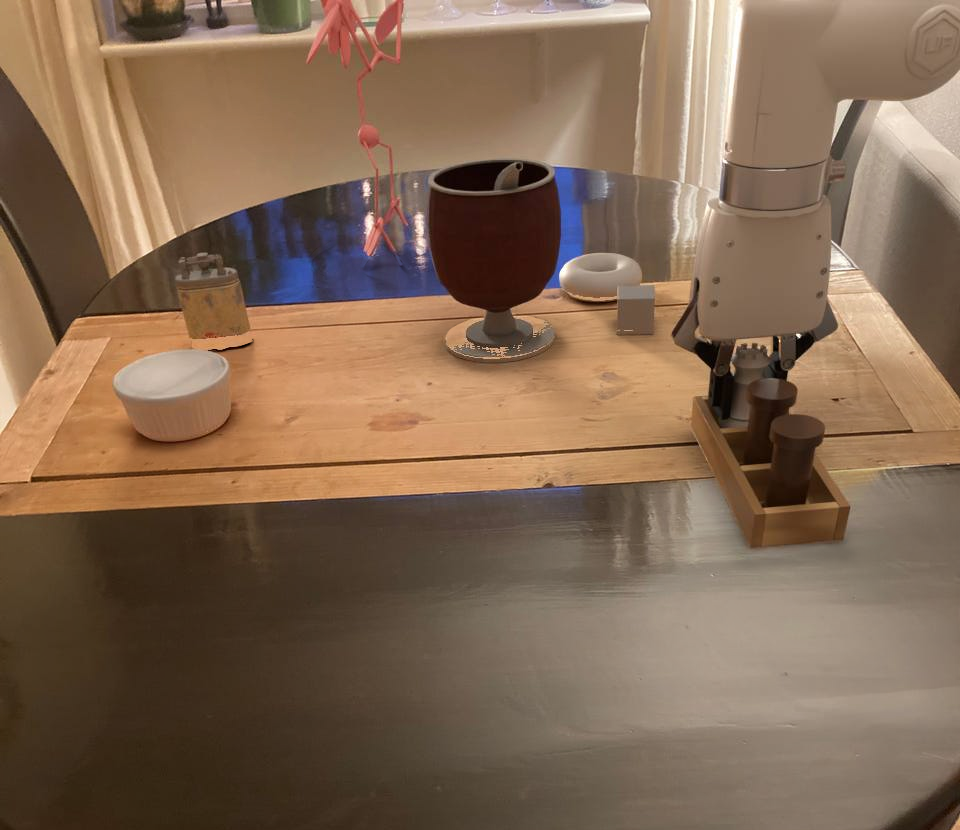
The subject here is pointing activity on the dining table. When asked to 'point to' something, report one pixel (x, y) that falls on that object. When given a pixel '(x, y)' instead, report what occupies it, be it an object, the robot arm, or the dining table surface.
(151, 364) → the ramekin
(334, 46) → the figurine
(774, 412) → the walnut rook
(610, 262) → the donut
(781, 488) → the walnut rook
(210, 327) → the lighter
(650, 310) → the grey block
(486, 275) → the mate gourd
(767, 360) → the rook chess piece
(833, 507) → the rack
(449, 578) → the dining table surface
